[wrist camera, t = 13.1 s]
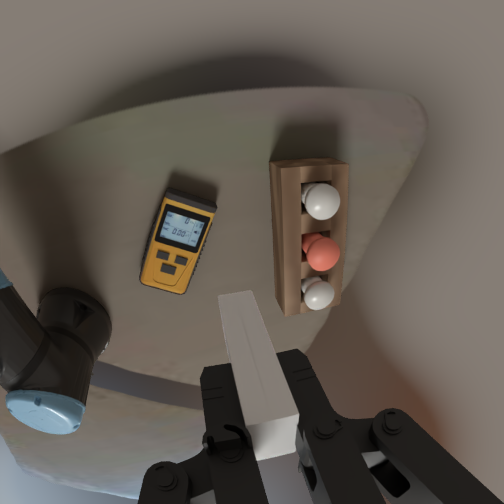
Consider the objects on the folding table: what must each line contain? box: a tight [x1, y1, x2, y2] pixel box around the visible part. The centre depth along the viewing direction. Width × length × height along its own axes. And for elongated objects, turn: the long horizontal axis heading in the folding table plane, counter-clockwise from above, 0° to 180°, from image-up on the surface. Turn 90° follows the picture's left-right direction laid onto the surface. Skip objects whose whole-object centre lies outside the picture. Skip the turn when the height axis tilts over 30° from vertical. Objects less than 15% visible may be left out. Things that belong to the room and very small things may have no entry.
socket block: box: [269, 157, 349, 317], centre depth 47 cm, size 10×24×6 cm, turn 3°
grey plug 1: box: [301, 182, 340, 220], centre depth 42 cm, size 5×5×8 cm
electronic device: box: [139, 188, 217, 295], centre depth 45 cm, size 8×16×3 cm, turn 156°
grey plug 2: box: [301, 276, 334, 310], centre depth 48 cm, size 5×5×8 cm
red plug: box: [301, 232, 340, 271], centre depth 44 cm, size 5×5×8 cm
